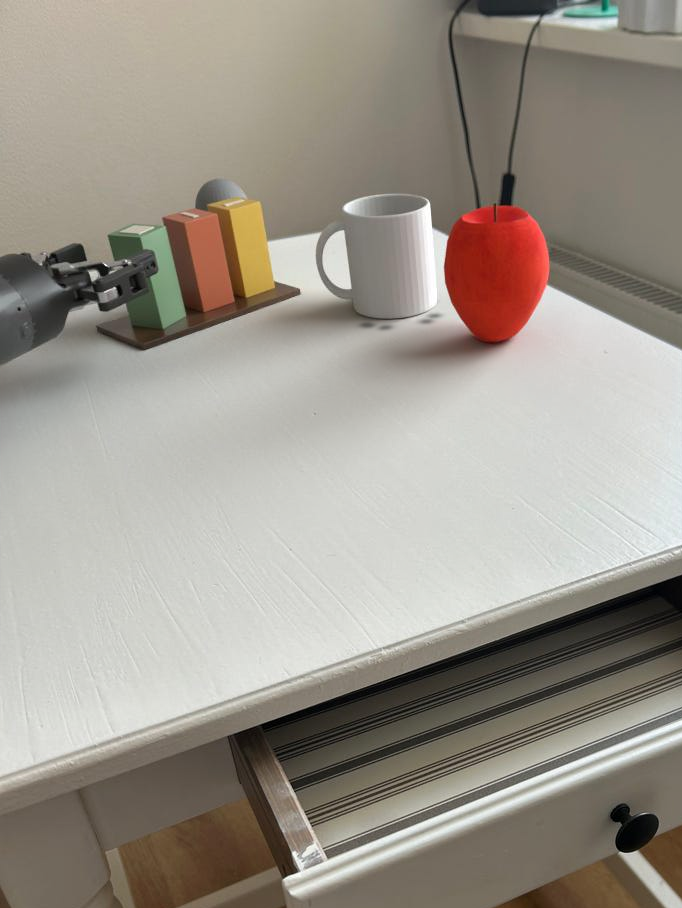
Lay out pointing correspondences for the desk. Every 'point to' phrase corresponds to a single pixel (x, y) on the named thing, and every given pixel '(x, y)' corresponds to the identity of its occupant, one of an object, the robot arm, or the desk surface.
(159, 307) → the green rectangular block
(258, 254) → the yellow slotted money box
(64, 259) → the robot arm
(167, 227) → the block
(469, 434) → the desk surface
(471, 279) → the apple
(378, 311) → the mug
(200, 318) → the dark brown rectangular board
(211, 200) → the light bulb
